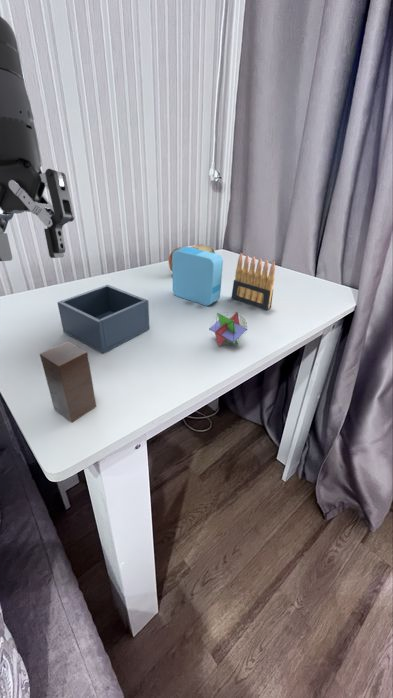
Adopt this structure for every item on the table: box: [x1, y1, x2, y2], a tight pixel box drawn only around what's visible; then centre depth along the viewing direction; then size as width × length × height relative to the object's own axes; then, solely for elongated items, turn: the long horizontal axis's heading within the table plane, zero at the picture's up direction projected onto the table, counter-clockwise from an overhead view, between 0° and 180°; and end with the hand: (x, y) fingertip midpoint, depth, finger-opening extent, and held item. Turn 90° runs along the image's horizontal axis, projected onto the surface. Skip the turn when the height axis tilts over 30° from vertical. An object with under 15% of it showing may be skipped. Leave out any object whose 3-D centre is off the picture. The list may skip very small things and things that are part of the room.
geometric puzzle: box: [208, 310, 249, 348], centre depth 66 cm, size 7×7×8 cm
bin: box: [56, 284, 150, 354], centre depth 68 cm, size 13×13×7 cm
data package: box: [172, 246, 224, 307], centre depth 83 cm, size 12×4×12 cm, turn 55°
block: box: [39, 341, 97, 423], centre depth 48 cm, size 4×4×10 cm
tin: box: [168, 244, 216, 273], centre depth 99 cm, size 15×3×8 cm, turn 119°
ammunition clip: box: [230, 252, 276, 311], centre depth 81 cm, size 11×2×12 cm, turn 52°
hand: (30, 259), depth 46 cm, fingers open, 8 cm apart
